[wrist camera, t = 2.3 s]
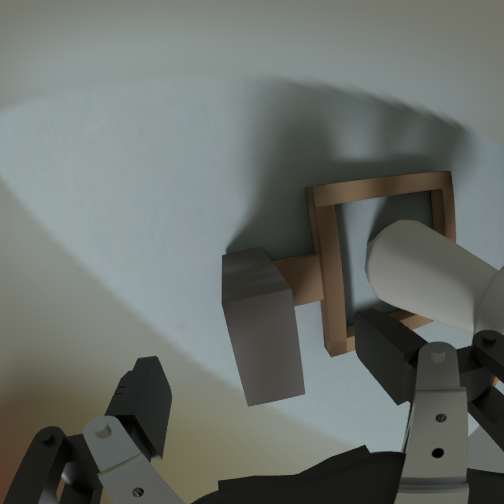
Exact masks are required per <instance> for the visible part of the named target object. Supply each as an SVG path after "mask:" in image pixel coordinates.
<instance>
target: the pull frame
mask: <svg viewBox="0 0 504 504" xmlns="http://www.w3.org/2000/svg"><path fill="white" fill-rule="evenodd" d="M426 190H430V191H431V201H432V213H433V229H434V231H436V232H438V233H439V234H441V235H443V236H444V237H446V238H448V239H449V240H451V241H453V242H454V243H456V225H455V207H454V194H453V184H452V176H451V171H439V172H426V173H415V174H405V175H395V176H386V177H377V178H369V179H361V180H353V181H345V182H338V183H331V184H324V185H317V186H310V187H305V191H306V197H307V203H308V210H309V216H310V223H311V229H312V236H313V244H314V251H315V252H314V253H310V254H305V255H300V256H295V257H290V258H285V259H281V260H276V261H271V259H270V258H269V256H268V255H267V254H266V252H265V251H264V249H263V248H262V247H261V248H256V249H251V250H246V251H241V252H236V253H231V254H226V255H222V307H223V311H224V315H225V319H226V323H227V327H228V332H229V336H230V340H231V344H232V348H233V351H234V355H235V359H236V363H237V367H238V371H239V375H240V378H241V382H242V386H243V389H244V393H245V397H246V400H247V404H248V406H253V405H259V404H264V403H269V402H273V401H278V400H282V399H287V398H291V397H295V396H299V395H303V394H305V388H304V379H303V371H302V363H301V355H300V347H299V339H298V331H297V324H296V317H295V309H294V306H298V305H302V304H307V303H311V302H315V301H319V300H320V302H321V311H322V322H323V333H324V345H325V348H326V350H327V351H328V353H329V354H330V356H331V357H334V356H337V355H341V354H344V353H347V352H350V351H354V350H355V331H354V325H351V326H348V327H346V314H345V299H344V285H343V274H342V263H341V254H340V244H339V236H338V228H337V220H336V213H335V206H334V204H339V203H345V202H351V201H358V200H364V199H371V198H377V197H384V196H391V195H398V194H405V193H412V192H419V191H426ZM383 316H389V317H393V318H396V319H398V320H399V321H400V322H402V323H403V324H404V326H405V325H406V326H407V327H408V328H410V330H413V329H415V328H418V327H420V326H423V325H425V324H428V323H430V322H432V321H434V320H431V319H429V318H426V317H423V316H420V315H418V314H415V313H412V312H409V311H406V310H404V309H401V310H398V311H395V312H392V313H389V314H386V315H383Z"/></svg>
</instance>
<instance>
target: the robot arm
mask: <svg viewBox="0 0 504 504" xmlns="http://www.w3.org/2000/svg"><path fill="white" fill-rule="evenodd" d="M354 331H355V350H356V353H357V356H358V358H359V359H360V361H361V362H362V363H363V364H364V365H365V367H366V368H367V369H368V370H369V372H370V373H371V374H372V375H373V376H374V378H375V379H376V380H377V381H378V382H379V384H380V385H381V386H382V387H383V388H384V390H385V391H386V392H387V393H388V395H389V396H390V397H391V398H392V399H393V401H394V402H395V403H396V404H397V406H398V405H400V404H402V403H404V402H406V401H409V402H410V403H411V404H410V409H409V414H408V420H407V426H406V431H405V436H404V441H403V445H402V449H401V452H393V451H382V452H373V453H370V452H369V451H368V449H367V447H366V445H363V446H360V447H358V448H355V449H352V450H350V451H347V452H344V453H341V454H338V455H335V456H332V457H330V458H328V459H326V460H324V461H323V462H321V463H319V464H317V465H315V466H313V467H311V468H309V469H307V470H305V471H303V472H301V473H299V474H295V475H282V476H281V475H280V476H249V477H243V478H236V479H228V480H220V481H218V488H219V490H218V491H215V492H212V493H210V494H207V495H205V496H203V497H201V498H199V499H198V500H196V501H194V502H193V503H191V504H504V473H496V472H488V471H482V470H476V469H470V468H467V456H468V412H469V413H470V414H471V416H472V417H473V418H474V419H475V420H476V421H477V422H478V423H479V424H480V425H481V427H482V428H483V429H484V430H485V431H486V432H487V433H488V434H489V435H490V437H491V438H492V439H493V440H494V441H495V442H496V443H497V445H498V446H499V447H500V448H501V449H502V450H503V451H504V395H503V394H502V393H501V392H500V391H499V390H498V389H496V388H495V387H494V386H493V383H494V380H495V377H497V378H498V379H499V380H500V381H501V382H503V383H504V335H503V334H501V333H500V332H497V331H494V330H482V331H479V332H477V333H476V334H475V335H474V336H473V340H472V345H471V346H468V347H464V348H461V349H457V350H456V349H455V348H454V347H453V346H452V345H450V344H448V343H445V342H431V343H428V342H427V341H426V340H424V339H423V338H422V337H420V336H419V335H418V334H416V333H415V332H414V331H412V330H410V328H408V327H407V326H406V325H405V326H404V324H403V323H402V322H400V321H399V320H398V319H396V318H393V317H389V316H383V315H381V314H380V313H379V312H377V311H376V310H375V309H373V308H370V309H367V310H364V311H361V312H357V313H355V315H354ZM171 402H172V393H171V389H170V386H169V383H168V381H167V378H166V376H165V374H164V371H163V369H162V366H161V364H160V361H159V360H158V357H156V356H151V357H143V358H138V359H137V361H136V364H135V366H134V368H133V370H132V371H128V372H127V373H126V374H125V375H124V376H123V377H122V378H121V380H120V382H119V384H118V386H117V389H116V391H115V393H114V395H113V397H112V400H111V402H110V404H109V406H108V408H107V411H106V413H105V415H104V416H101V417H98V418H95V419H94V420H92V421H91V422H89V423H88V424H87V425H86V427H85V429H84V432H83V434H78V435H73V436H68V437H67V436H66V435H65V434H64V432H63V431H62V430H61V429H60V428H59V427H55V426H50V427H46V428H44V429H42V430H40V431H39V432H38V433H37V434H36V435H35V437H34V438H33V440H32V442H31V444H30V446H29V448H28V450H27V452H26V454H25V456H24V458H23V460H22V462H21V464H20V466H19V469H18V471H17V473H16V475H15V477H14V479H13V482H12V484H11V486H10V488H9V491H8V493H7V496H6V498H5V501H4V503H3V504H100V499H101V494H102V489H103V488H104V489H105V491H106V492H107V494H108V496H109V498H110V500H111V501H112V503H113V504H185V502H184V501H183V500H182V499H181V498H180V497H179V496H178V495H177V494H176V493H175V492H174V491H173V489H172V488H171V487H170V486H169V485H168V484H167V483H166V482H165V481H164V479H163V478H162V477H161V476H160V475H159V473H158V472H157V471H156V470H155V468H154V467H153V466H152V465H151V464H150V462H151V460H161V459H162V456H163V449H164V444H165V438H166V431H167V425H168V419H169V413H170V407H171ZM61 478H62V479H63V480H64V481H65V486H64V489H63V492H62V495H61V499H60V502H59V501H58V500H57V496H56V491H57V488H58V485H59V482H60V479H61Z"/></svg>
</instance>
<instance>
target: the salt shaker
mask: <svg viewBox="0 0 504 504" xmlns="http://www.w3.org/2000/svg"><path fill="white" fill-rule="evenodd" d="M365 272H366V275H367V279H368V282H369V284H370V285H371V287H372V289H373V290H374V292H375V294H376V295H377V296H378V298H379V299H381V300H383V301H385V302H387V303H389V304H391V305H393V306H395V307H398V308H401V309H404V310H406V311H409V312H412V313H415V314H418V315H420V316H423V317H426V318H429V319H431V320H434V321H437V322H440V323H443V324H445V325H448V326H451V327H454V328H457V329H459V330H462V331H465V332H468V333H470V334H473V336H474V335H475V334H476V333H477V332H479V331H482V330H494V331H497V332H500V333H501V334H503V335H504V266H503V267H502V268H501V269H500V270H499V271H498V270H497V269H495V268H494V267H492V266H491V265H489V264H488V263H486V262H484V261H483V260H481V259H480V258H478V257H476V256H475V255H473V254H471V253H470V252H468V251H467V250H465V249H464V248H462V247H461V246H459V245H457V244H456V243H454V242H453V241H451V240H449V239H448V238H446V237H444V236H443V235H441V234H439V233H438V232H436V231H434V230H433V229H431V228H429V227H427V226H426V225H424V224H422V223H420V222H419V221H413V220H398V221H396V222H394V223H392V224H391V225H389V226H387V227H386V228H384V229H383V230H382V231H381V232H380V233H379V234H378V235H377V236H376V237H375V238H373V239H372V240H371V241H370V242H369V243H368V244H367V250H366V262H365Z"/></svg>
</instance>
